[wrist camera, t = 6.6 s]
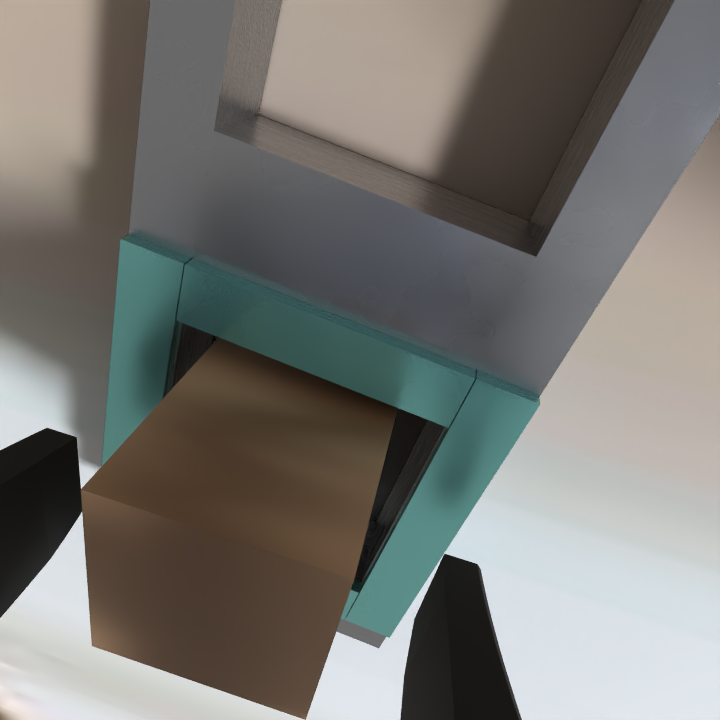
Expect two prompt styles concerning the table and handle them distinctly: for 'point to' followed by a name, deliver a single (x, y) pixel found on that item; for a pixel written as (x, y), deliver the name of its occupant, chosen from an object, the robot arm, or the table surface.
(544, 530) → the table surface
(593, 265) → the grey slotted board
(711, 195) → the table surface
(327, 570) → the walnut block
